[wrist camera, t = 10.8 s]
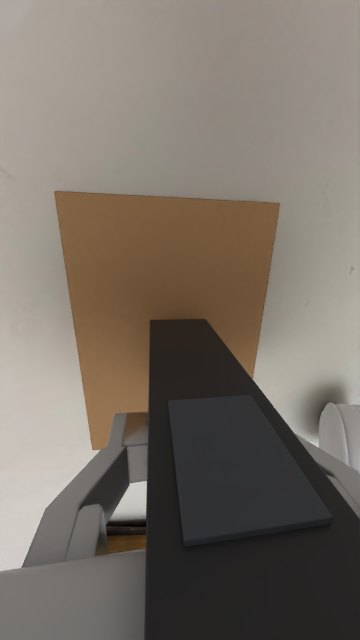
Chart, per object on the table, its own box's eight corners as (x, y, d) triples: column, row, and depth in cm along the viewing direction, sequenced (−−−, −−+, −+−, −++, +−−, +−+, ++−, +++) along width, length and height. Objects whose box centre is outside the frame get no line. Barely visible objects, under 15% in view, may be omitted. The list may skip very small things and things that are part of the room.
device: (149, 317, 13) (139, 815, 2) (205, 316, 13) (513, 698, 2) (151, 401, 15) (154, 890, 4) (200, 397, 15) (341, 821, 4)
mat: (57, 192, 13) (53, 190, 12) (276, 204, 14) (280, 202, 14) (93, 445, 19) (92, 450, 19) (241, 432, 21) (243, 436, 20)
